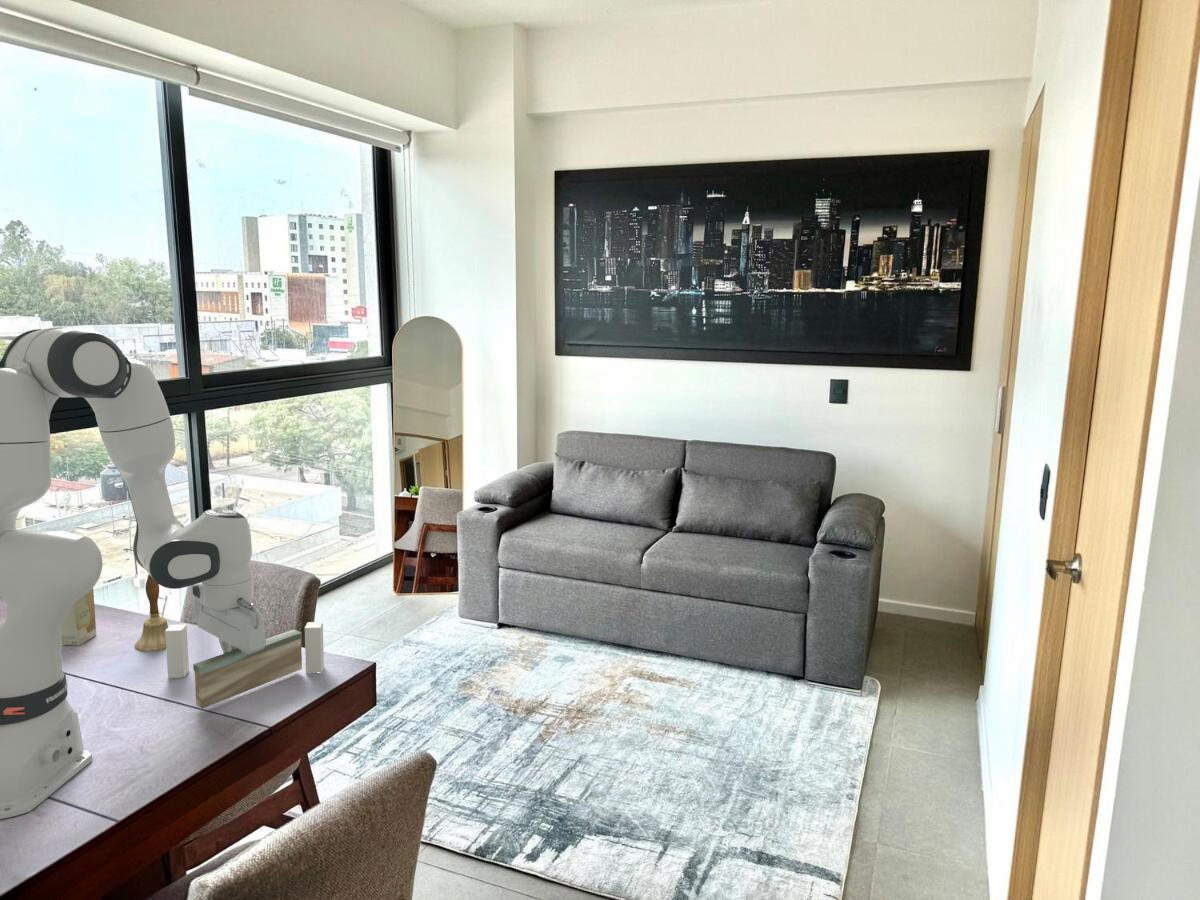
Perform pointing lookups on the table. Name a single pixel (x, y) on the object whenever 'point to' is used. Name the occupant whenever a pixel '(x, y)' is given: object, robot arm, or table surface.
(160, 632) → the hand bell
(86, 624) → the skincare box
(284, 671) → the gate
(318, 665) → the gate posts
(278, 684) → the table surface
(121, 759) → the table surface
